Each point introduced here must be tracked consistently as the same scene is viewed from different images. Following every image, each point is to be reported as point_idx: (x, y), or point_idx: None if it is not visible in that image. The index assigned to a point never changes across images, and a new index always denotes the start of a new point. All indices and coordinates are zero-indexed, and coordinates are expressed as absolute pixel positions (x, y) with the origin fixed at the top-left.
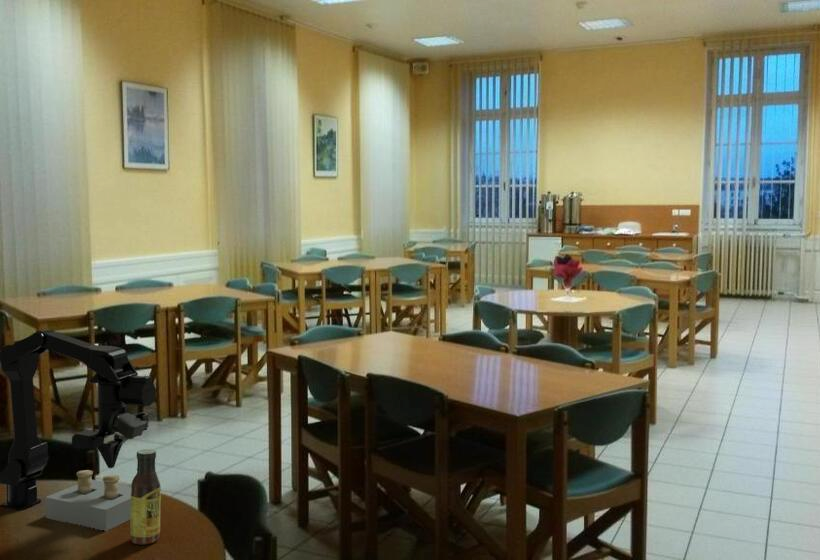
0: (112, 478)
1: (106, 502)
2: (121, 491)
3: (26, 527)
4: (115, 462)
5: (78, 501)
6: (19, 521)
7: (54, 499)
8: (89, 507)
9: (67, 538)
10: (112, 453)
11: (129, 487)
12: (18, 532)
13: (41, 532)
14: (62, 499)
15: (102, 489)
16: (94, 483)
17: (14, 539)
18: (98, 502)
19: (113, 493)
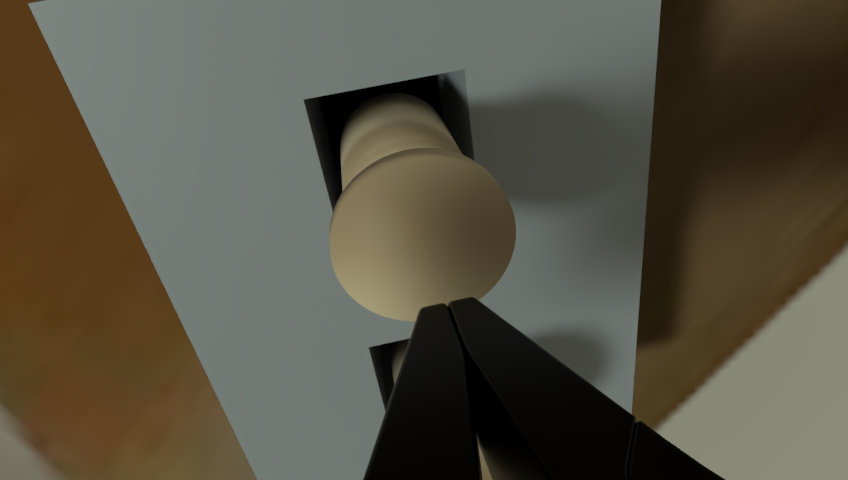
0: (439, 208)
1: (526, 62)
2: (265, 190)
3: (698, 313)
4: (409, 348)
5: (605, 250)
6: (654, 384)
7: (631, 379)
8: (647, 101)
9: (755, 28)
10: (615, 474)
11: (154, 219)
12: (756, 289)
13: (726, 214)
14: (621, 346)
15: (342, 329)
16: (305, 447)
17: (829, 234)
18: (556, 119)
19: (422, 120)
